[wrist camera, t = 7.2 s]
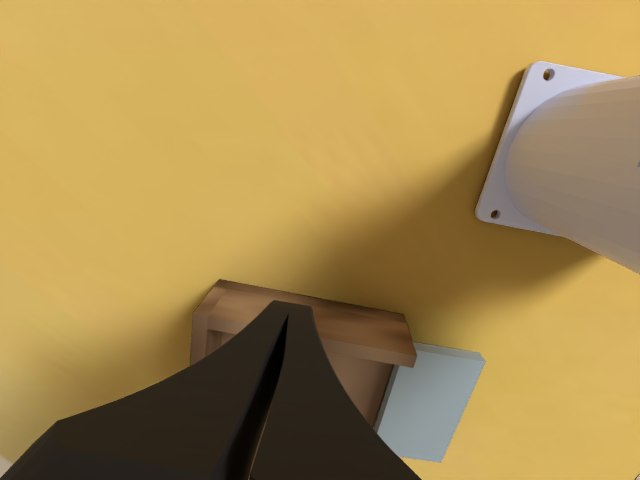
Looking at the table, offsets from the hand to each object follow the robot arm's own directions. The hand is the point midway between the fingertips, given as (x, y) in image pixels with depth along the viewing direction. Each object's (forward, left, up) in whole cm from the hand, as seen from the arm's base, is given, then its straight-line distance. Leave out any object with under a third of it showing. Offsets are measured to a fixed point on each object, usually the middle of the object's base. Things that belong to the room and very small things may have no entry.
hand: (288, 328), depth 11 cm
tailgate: (-7, +9, -8) cm, 14 cm away
